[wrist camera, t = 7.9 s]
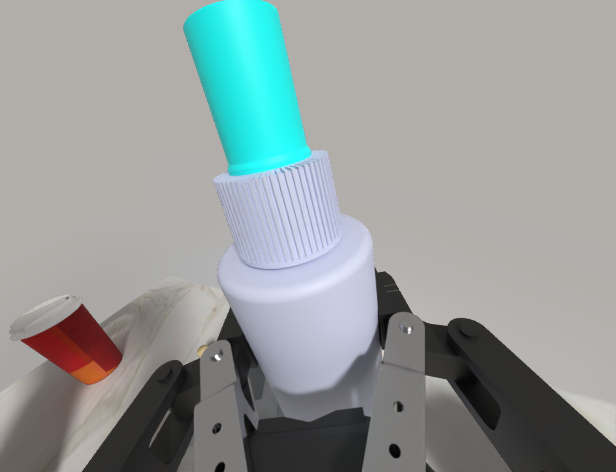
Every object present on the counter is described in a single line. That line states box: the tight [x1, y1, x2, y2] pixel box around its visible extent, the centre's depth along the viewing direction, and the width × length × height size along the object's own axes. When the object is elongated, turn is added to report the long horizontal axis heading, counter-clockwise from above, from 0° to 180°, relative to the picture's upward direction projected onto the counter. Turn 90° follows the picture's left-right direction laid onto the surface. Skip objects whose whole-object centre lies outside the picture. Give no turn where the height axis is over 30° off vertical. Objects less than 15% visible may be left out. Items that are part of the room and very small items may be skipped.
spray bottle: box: [183, 0, 382, 422], centre depth 11 cm, size 6×6×22 cm
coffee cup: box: [9, 294, 122, 385], centre depth 38 cm, size 8×8×15 cm
